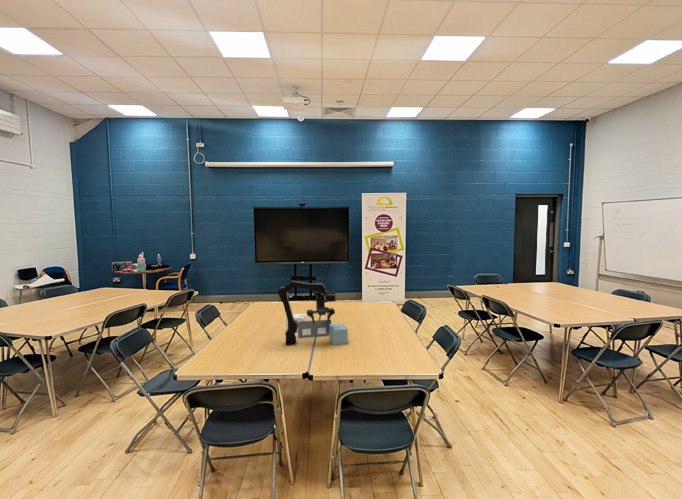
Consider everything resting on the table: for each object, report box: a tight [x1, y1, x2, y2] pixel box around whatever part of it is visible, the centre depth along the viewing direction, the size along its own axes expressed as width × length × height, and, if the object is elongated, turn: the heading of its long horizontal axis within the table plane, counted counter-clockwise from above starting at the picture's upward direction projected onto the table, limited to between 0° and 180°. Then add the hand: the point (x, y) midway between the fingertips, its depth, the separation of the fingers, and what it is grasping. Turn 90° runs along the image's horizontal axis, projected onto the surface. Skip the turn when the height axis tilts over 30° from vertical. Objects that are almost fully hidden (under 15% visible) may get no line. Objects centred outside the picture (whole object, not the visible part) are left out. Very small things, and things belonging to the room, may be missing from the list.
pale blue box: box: [328, 322, 349, 346], centre depth 216 cm, size 10×14×10 cm
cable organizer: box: [285, 313, 308, 333], centre depth 242 cm, size 15×11×12 cm
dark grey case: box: [297, 318, 332, 339], centre depth 219 cm, size 30×25×12 cm
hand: (320, 324), depth 213 cm, fingers open, 9 cm apart
